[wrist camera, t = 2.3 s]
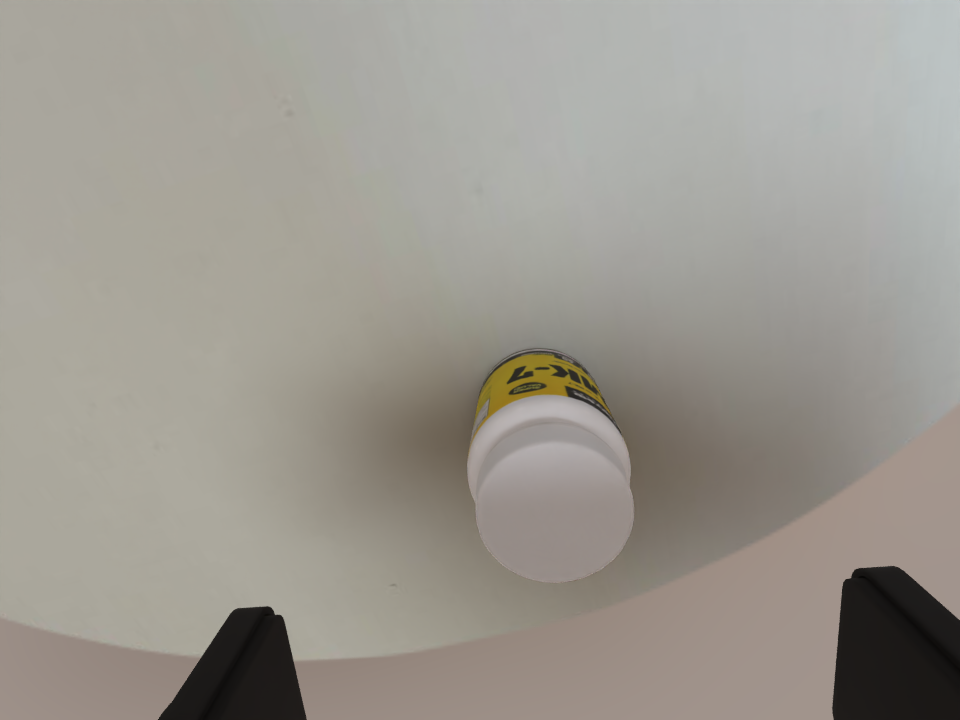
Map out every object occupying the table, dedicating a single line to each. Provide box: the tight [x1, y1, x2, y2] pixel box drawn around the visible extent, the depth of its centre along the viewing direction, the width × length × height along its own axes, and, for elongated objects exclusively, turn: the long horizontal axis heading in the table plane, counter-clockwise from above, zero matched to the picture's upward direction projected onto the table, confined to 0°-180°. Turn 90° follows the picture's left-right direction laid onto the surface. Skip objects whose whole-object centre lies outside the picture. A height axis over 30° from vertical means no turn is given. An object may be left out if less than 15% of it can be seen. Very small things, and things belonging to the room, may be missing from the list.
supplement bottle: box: [467, 349, 634, 583], centre depth 18 cm, size 5×5×8 cm
